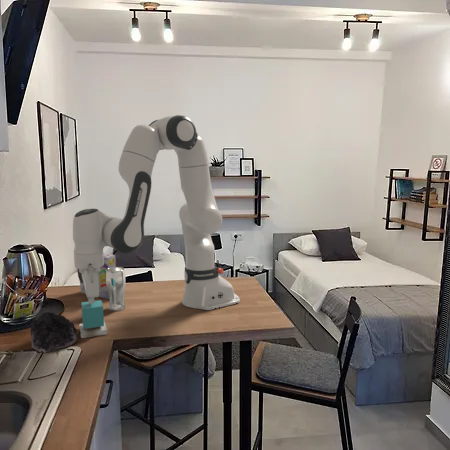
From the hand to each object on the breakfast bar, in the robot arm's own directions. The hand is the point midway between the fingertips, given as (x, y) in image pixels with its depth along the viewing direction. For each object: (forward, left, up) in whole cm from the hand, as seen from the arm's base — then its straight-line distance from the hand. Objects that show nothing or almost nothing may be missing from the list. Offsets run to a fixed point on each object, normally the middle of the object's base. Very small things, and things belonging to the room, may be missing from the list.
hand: (91, 302), depth 131 cm
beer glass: (-10, -18, -10) cm, 23 cm away
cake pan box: (-5, -36, -10) cm, 38 cm away
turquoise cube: (0, 0, -7) cm, 7 cm away
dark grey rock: (+12, +4, -10) cm, 16 cm away
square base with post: (0, 0, -10) cm, 10 cm away
